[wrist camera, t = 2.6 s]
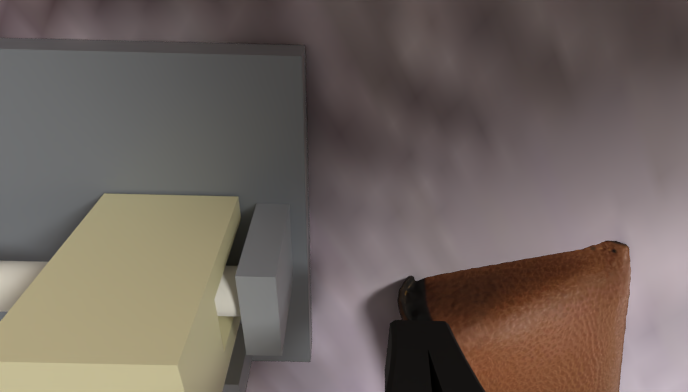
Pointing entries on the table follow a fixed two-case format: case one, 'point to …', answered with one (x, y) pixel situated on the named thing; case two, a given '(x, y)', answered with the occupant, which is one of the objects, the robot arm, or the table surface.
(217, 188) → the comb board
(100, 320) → the cream block on rod
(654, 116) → the table surface
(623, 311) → the sunglasses case
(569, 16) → the table surface
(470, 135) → the table surface
